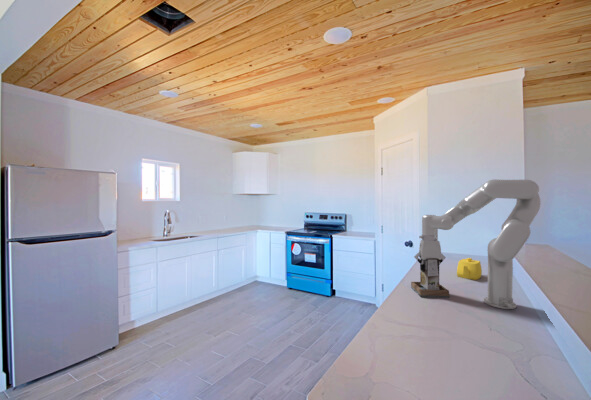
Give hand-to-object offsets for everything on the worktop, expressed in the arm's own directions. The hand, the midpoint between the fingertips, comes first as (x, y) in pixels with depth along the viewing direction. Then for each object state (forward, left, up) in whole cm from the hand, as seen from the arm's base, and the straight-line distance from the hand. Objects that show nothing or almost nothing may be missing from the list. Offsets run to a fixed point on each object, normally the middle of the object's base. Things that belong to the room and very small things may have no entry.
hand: (429, 271), depth 148 cm
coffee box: (0, 0, -9) cm, 9 cm away
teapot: (+31, -37, -12) cm, 50 cm away
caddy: (0, 0, -11) cm, 11 cm away
